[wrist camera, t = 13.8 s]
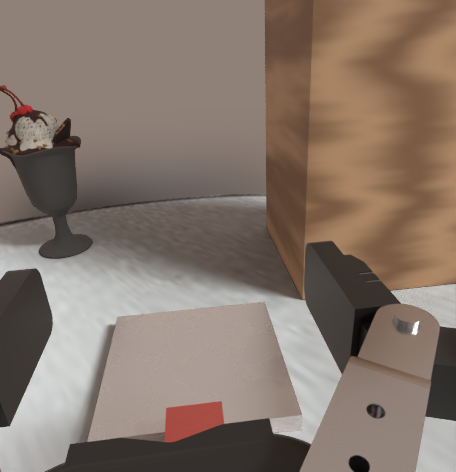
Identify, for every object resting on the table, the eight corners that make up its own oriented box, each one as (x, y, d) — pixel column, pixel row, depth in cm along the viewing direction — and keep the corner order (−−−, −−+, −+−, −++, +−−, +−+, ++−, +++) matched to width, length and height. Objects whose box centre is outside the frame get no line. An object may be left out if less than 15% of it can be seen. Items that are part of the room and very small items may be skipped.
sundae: (20, 247, 40) (-29, 86, 33) (86, 227, 43) (53, 79, 37) (40, 271, 35) (-12, 89, 29) (112, 246, 39) (80, 81, 32)
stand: (302, 299, 29) (331, -477, 15) (266, 228, 41) (262, -243, 26) (458, 282, 30) (629, -460, 16) (379, 217, 42) (435, -241, 27)
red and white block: (-35, 1019, 8) (-84, 1007, 7) (119, 329, 27) (113, 298, 26) (453, 909, 9) (478, 883, 7) (264, 314, 28) (264, 283, 27)
